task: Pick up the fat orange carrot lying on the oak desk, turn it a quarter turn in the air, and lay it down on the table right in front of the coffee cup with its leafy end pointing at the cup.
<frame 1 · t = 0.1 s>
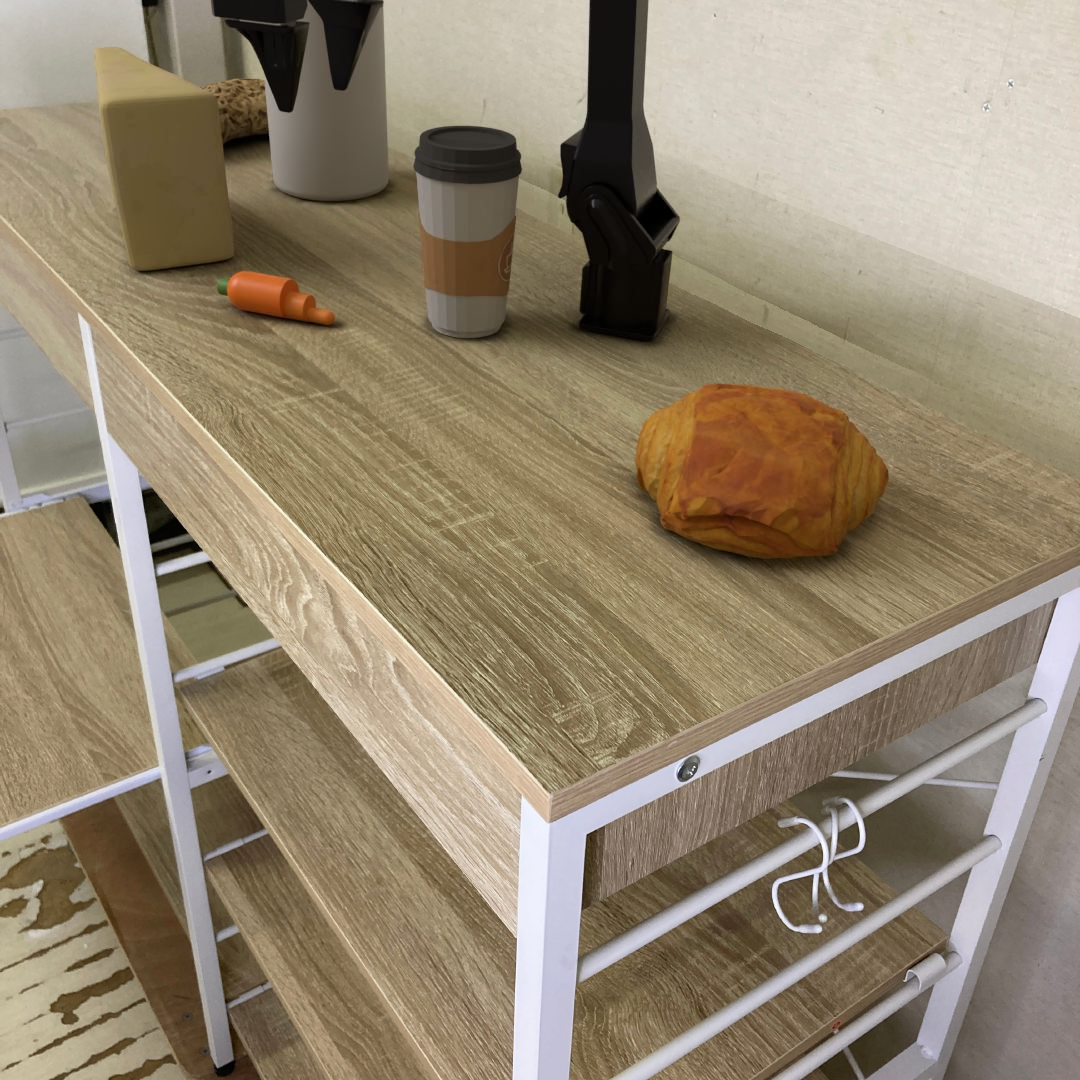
hand: (314, 100, 91), 15 cm above the table, tool pointing down, fingers open, 9 cm apart
cylinder vase: (331, 187, 121), on the table
coffee cup: (466, 326, 91), on the table
sponge: (220, 145, 133), on the table
cheese: (155, 232, 106), on the table
carrot: (276, 314, 91), on the table
croissant: (746, 507, 69), on the table
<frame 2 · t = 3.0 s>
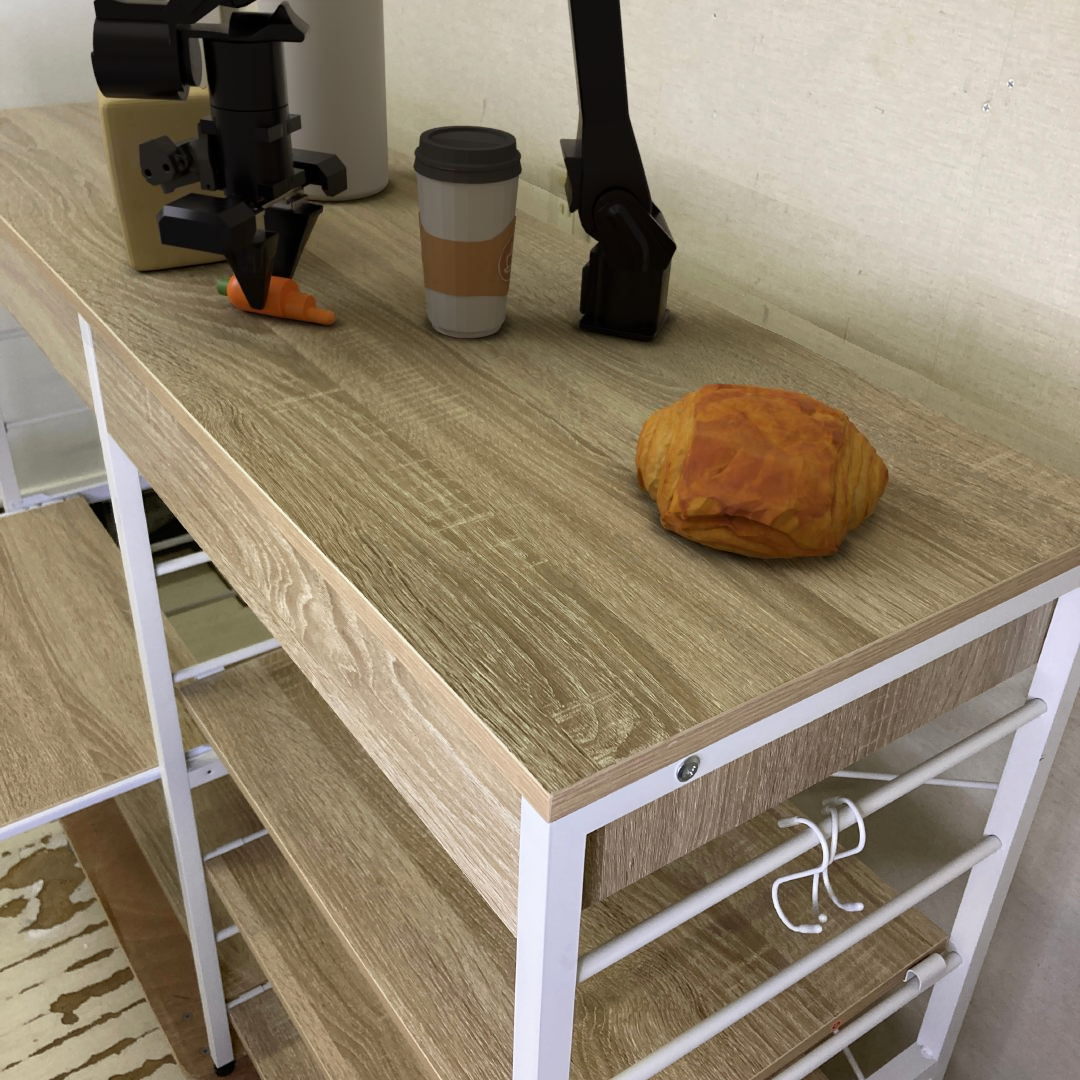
hand: (268, 301, 90), 1 cm above the table, tool pointing down, fingers closed on carrot, 3 cm apart
carrot: (276, 314, 91), on the table, touching gripper
everything else where it was.
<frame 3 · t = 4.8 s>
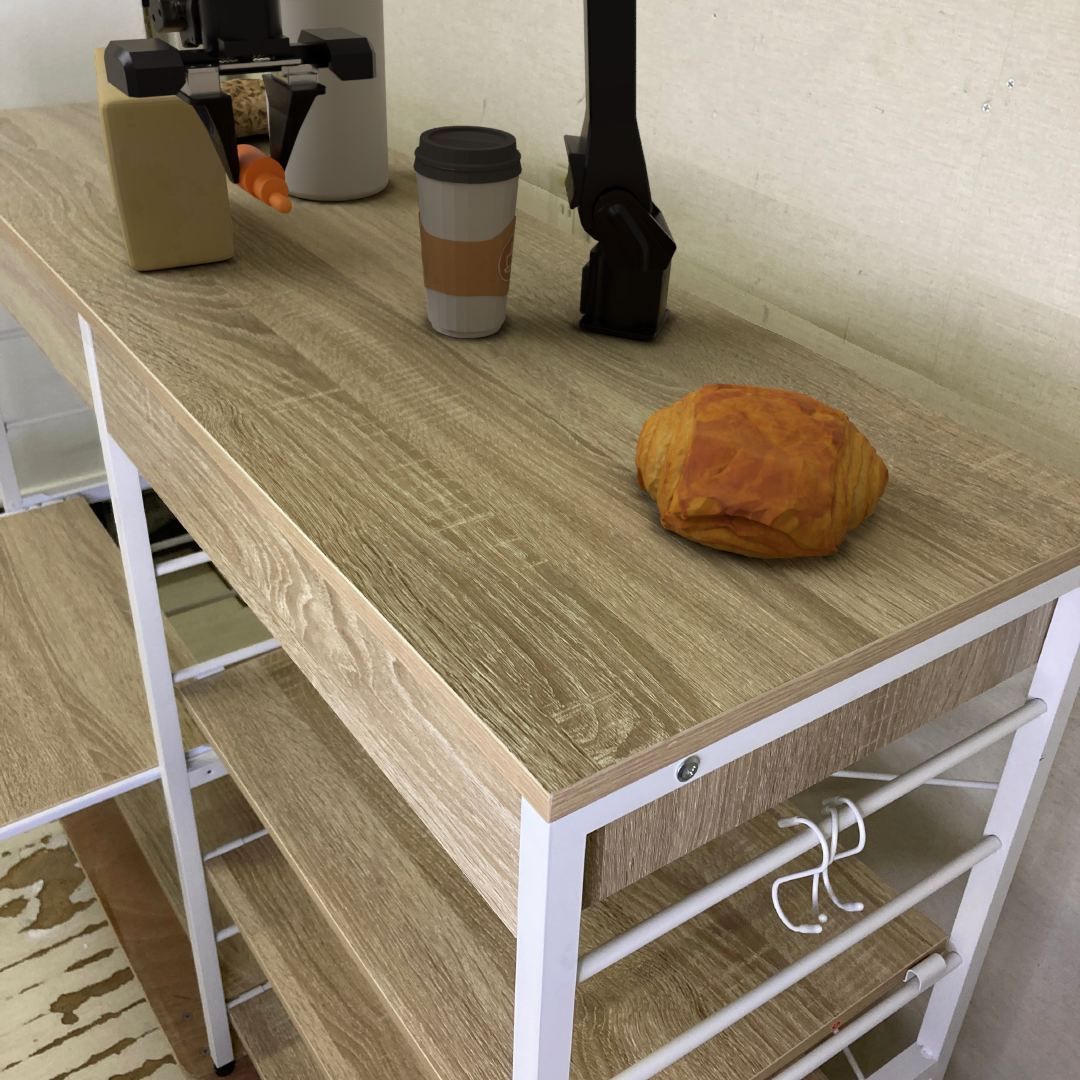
hand: (256, 179, 85), 11 cm above the table, tool pointing down, fingers closed on carrot, 3 cm apart
carrot: (259, 195, 85), point 10 cm above the table, touching gripper
everything else where it was.
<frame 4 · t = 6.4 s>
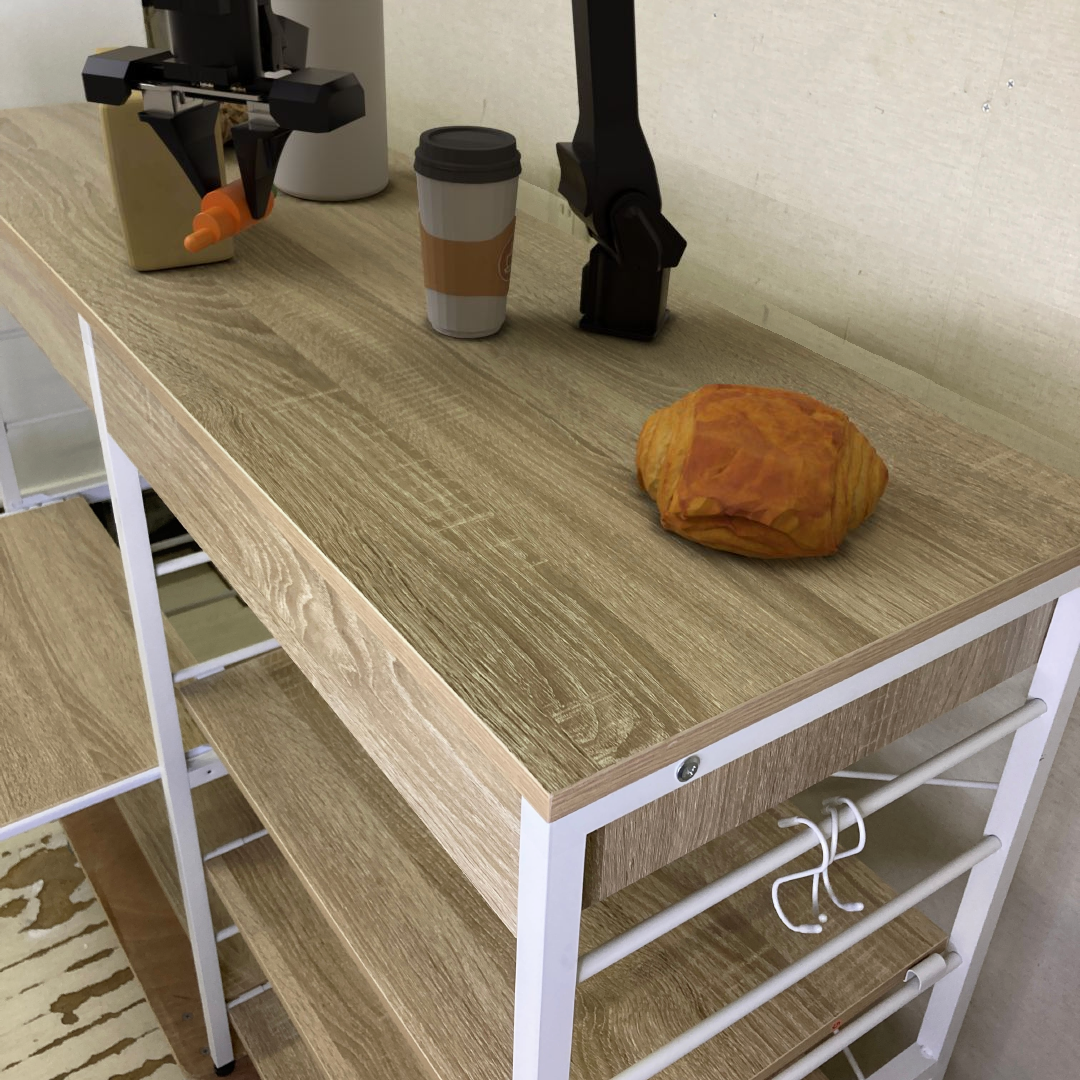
hand: (237, 214, 78), 11 cm above the table, tool pointing down, fingers closed on carrot, 3 cm apart
carrot: (233, 231, 78), point 10 cm above the table, touching gripper
everything else where it was.
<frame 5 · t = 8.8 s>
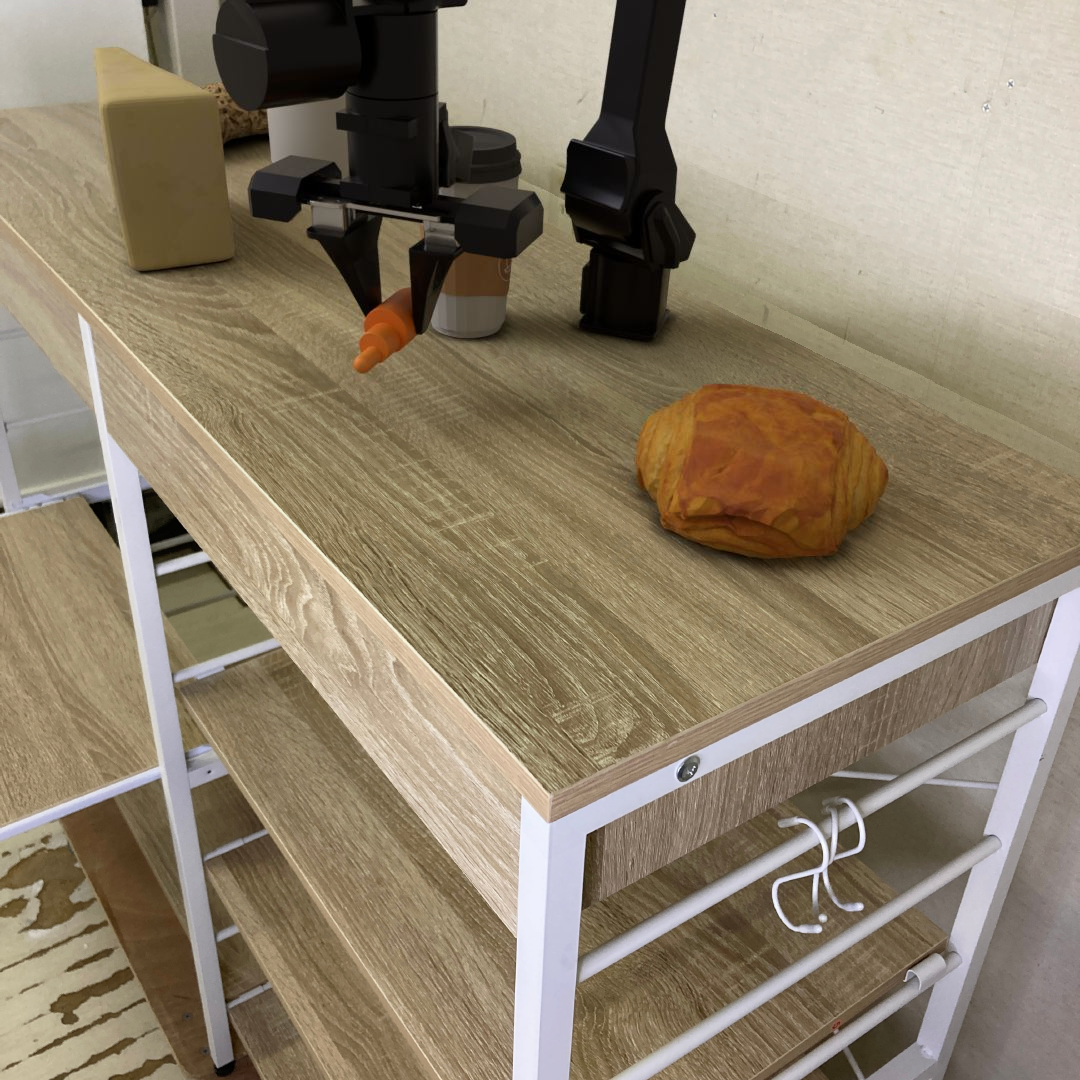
hand: (398, 328, 76), 6 cm above the table, tool pointing down, fingers closed on carrot, 3 cm apart
carrot: (394, 345, 76), point 5 cm above the table, touching gripper
everything else where it was.
when the fingers open (1 cm above the table, at t = 10.2 s): carrot stays where it is, on the table.
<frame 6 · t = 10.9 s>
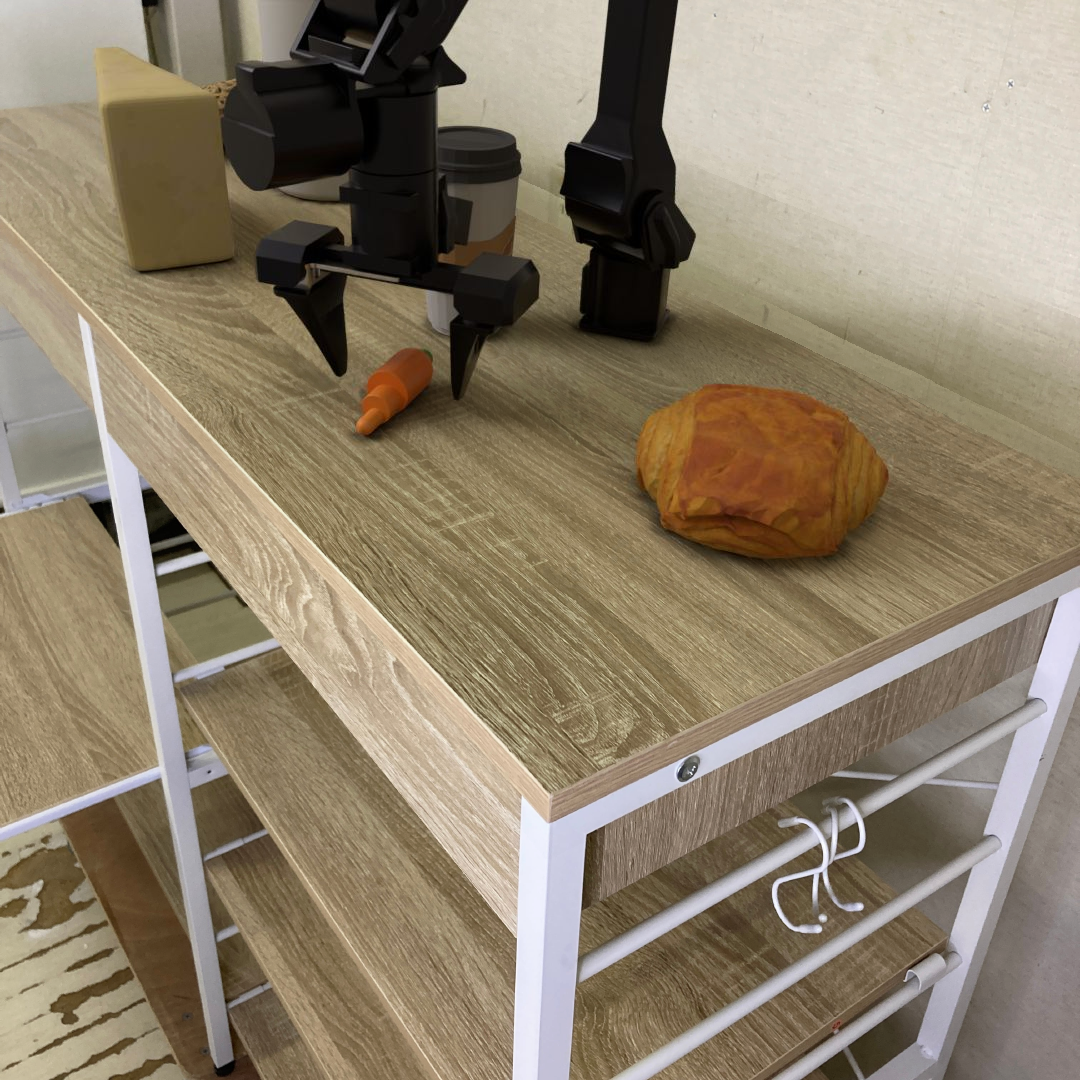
hand: (399, 386, 78), 1 cm above the table, tool pointing down, fingers open, 9 cm apart
carrot: (395, 404, 78), on the table
everything else where it was.
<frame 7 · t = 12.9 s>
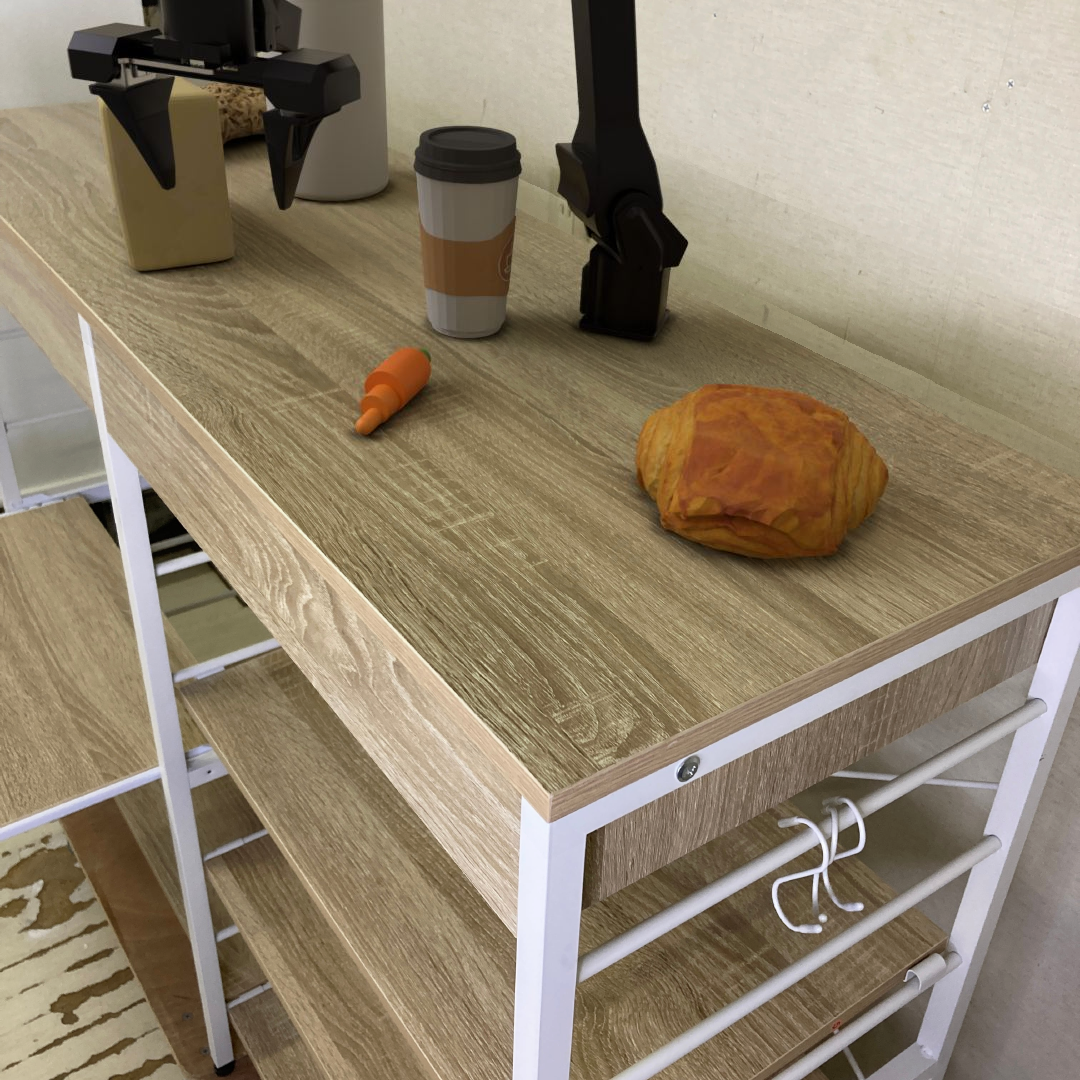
hand: (226, 198, 76), 12 cm above the table, tool pointing down, fingers open, 9 cm apart
nothing on the table moved.
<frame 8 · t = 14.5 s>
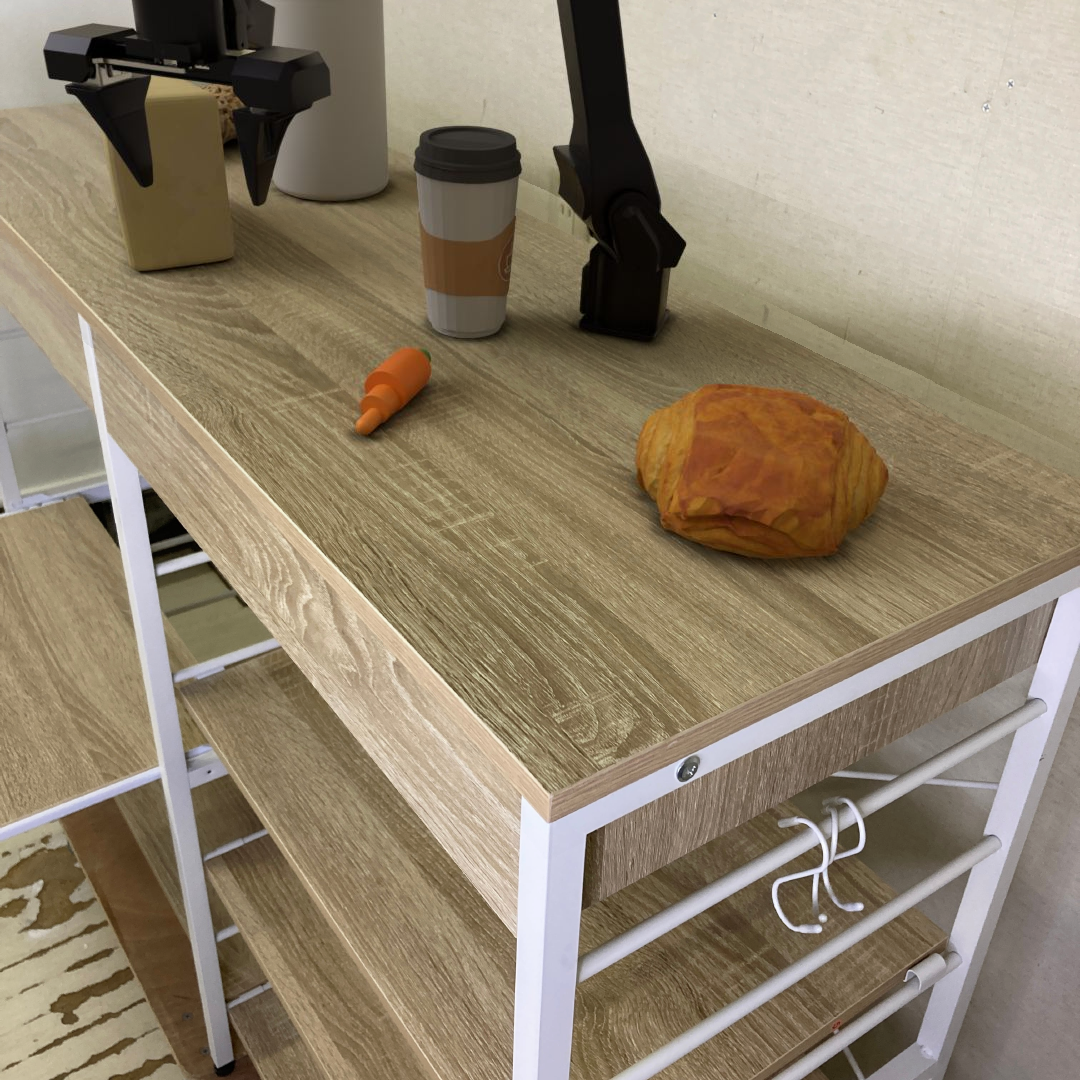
hand: (202, 195, 78), 12 cm above the table, tool pointing down, fingers open, 9 cm apart
nothing on the table moved.
at the end: carrot inside the target area on the table beside the coffee cup (0.7 cm from its centre), on the table; carrot touching table; coffee cup moved 0.2 cm from its start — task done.
